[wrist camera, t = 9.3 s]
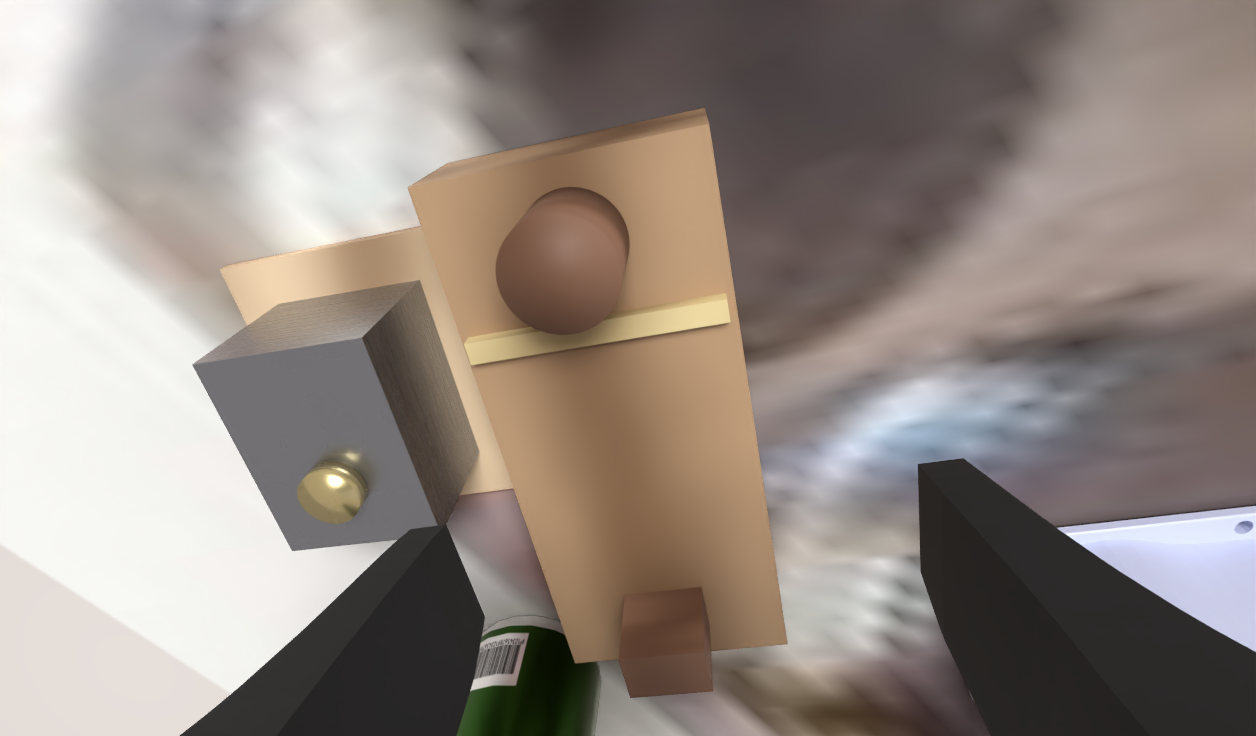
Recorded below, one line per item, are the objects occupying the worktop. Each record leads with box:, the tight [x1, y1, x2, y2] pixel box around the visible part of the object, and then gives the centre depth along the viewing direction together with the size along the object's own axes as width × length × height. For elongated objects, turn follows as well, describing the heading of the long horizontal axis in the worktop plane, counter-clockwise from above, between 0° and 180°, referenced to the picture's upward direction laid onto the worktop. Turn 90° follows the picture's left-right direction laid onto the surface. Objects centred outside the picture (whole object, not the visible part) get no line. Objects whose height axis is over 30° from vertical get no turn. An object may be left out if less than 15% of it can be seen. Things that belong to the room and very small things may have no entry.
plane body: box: [408, 108, 787, 698], centre depth 19 cm, size 7×16×5 cm, turn 12°
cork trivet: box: [220, 226, 513, 495], centre depth 21 cm, size 7×9×1 cm
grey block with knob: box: [193, 280, 479, 551], centre depth 19 cm, size 4×6×5 cm
